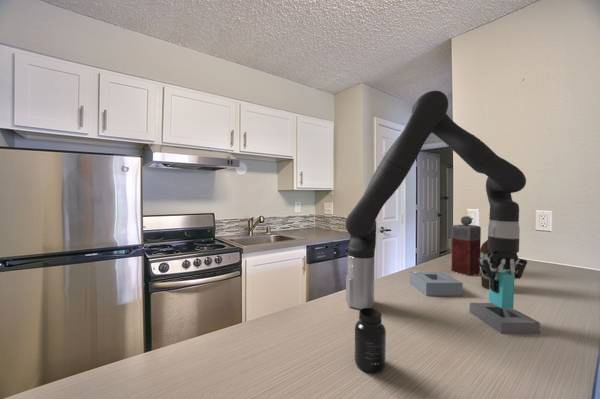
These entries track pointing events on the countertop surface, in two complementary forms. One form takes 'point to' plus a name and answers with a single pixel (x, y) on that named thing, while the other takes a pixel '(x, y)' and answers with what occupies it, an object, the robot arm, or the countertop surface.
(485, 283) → the brown glass bottle
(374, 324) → the supplement bottle
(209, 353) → the countertop surface
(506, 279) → the plug
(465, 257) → the red canister
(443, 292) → the block
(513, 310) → the holster
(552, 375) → the countertop surface
